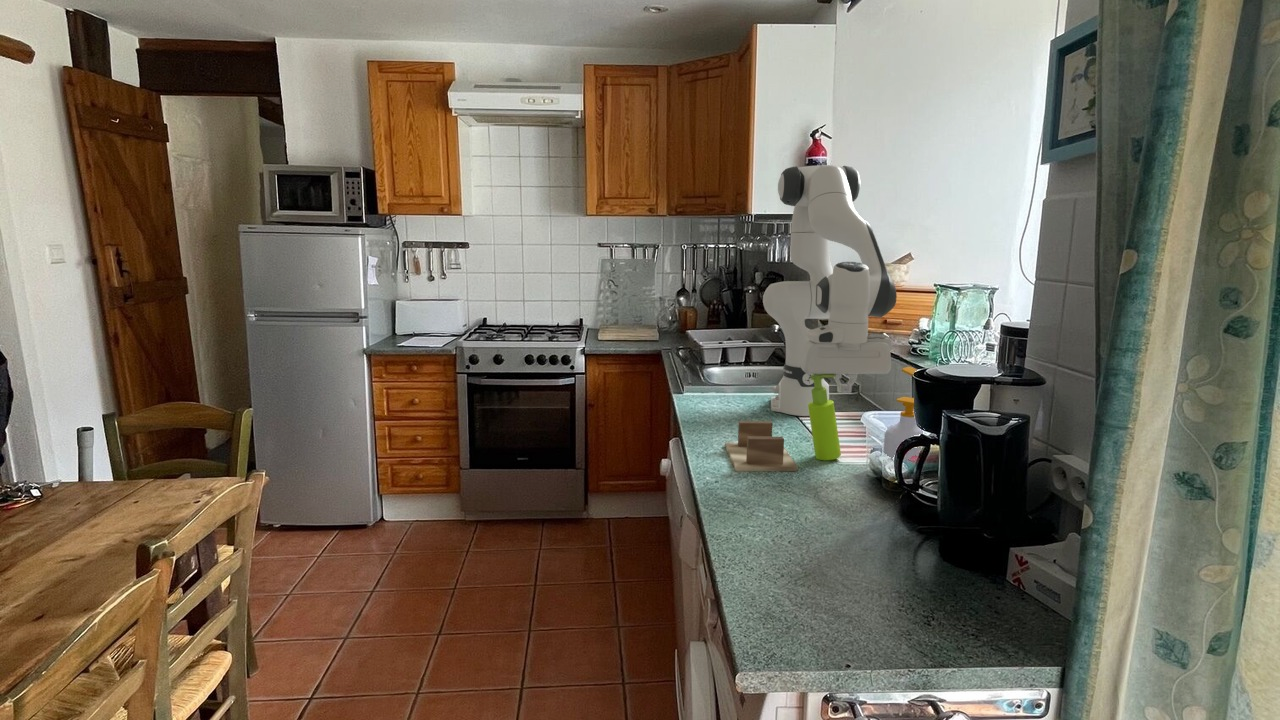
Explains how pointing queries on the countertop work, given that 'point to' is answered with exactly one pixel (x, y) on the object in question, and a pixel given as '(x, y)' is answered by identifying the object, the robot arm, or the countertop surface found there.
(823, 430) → the soap dispenser
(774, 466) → the u rest
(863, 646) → the countertop surface
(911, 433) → the soap bottle
